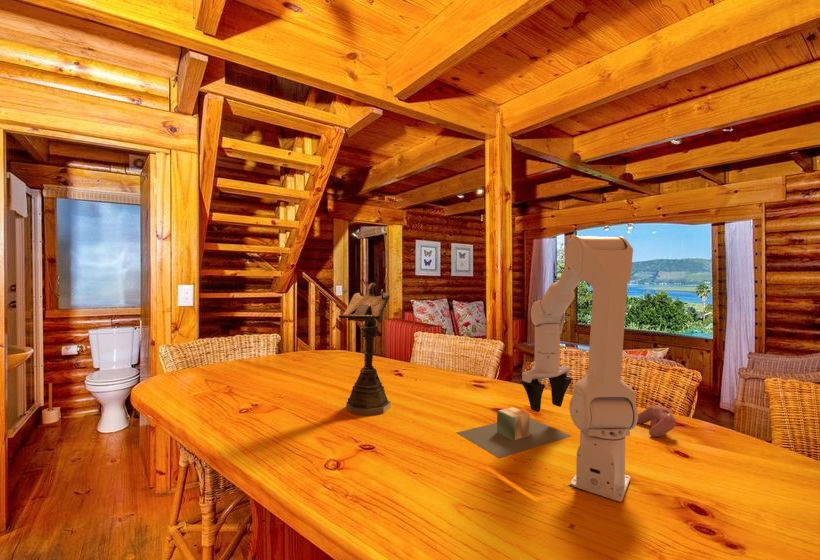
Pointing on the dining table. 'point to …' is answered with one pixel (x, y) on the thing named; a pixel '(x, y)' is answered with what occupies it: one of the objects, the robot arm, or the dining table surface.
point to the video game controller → (657, 420)
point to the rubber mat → (505, 446)
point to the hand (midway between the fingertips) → (546, 408)
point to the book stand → (367, 354)
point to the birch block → (513, 423)
